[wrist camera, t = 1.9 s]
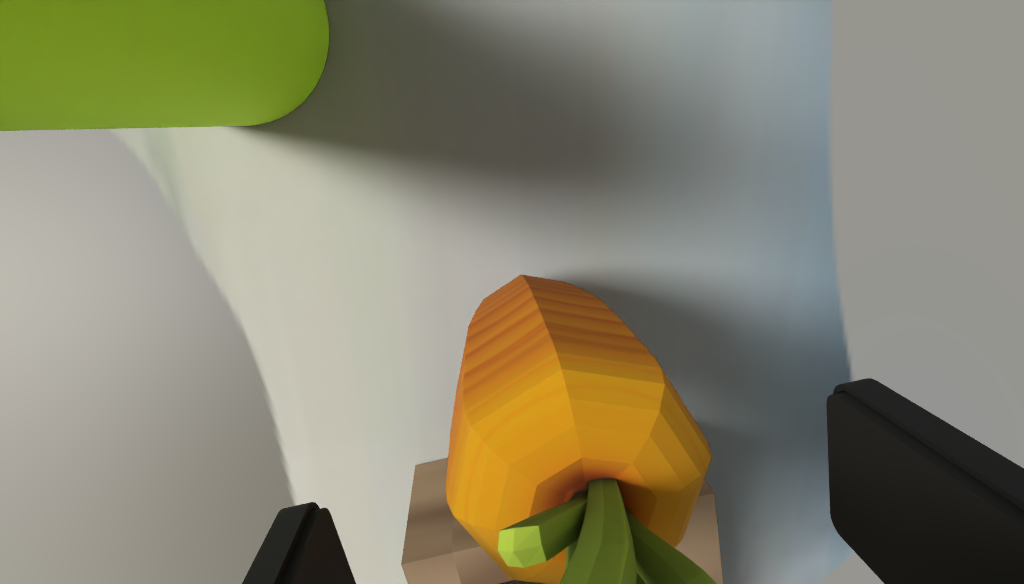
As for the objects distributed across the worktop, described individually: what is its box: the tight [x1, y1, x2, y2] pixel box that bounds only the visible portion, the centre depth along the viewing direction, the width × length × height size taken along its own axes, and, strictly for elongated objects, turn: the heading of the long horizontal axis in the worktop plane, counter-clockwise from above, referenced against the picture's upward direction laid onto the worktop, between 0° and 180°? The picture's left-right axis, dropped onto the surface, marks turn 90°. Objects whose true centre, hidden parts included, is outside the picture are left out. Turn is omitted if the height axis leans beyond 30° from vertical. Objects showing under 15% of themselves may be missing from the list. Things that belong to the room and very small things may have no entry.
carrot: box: [446, 275, 716, 584], centre depth 12 cm, size 5×5×15 cm
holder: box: [401, 458, 723, 584], centre depth 21 cm, size 10×10×5 cm
